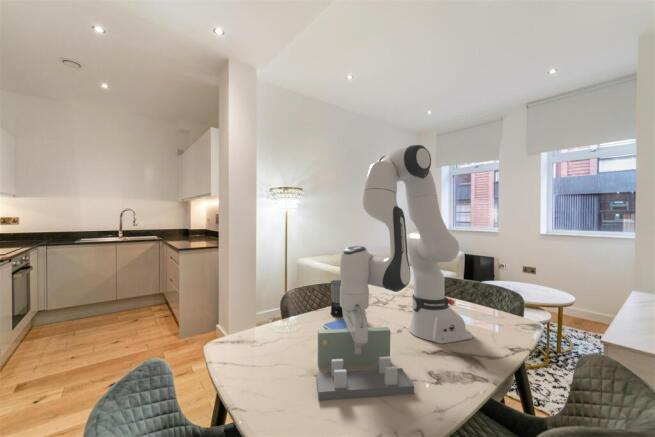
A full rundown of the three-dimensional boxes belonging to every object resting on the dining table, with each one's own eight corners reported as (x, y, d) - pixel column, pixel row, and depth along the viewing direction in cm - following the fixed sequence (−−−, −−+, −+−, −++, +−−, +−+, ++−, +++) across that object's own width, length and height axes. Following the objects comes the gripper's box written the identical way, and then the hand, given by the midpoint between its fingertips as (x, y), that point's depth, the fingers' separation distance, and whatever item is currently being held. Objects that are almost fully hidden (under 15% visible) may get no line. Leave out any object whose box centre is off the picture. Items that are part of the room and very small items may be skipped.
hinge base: (401, 375, 75) (401, 353, 75) (414, 393, 67) (414, 370, 67) (316, 380, 73) (316, 358, 73) (318, 400, 65) (318, 375, 65)
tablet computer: (378, 336, 101) (378, 332, 101) (354, 345, 94) (354, 342, 94) (345, 320, 117) (345, 317, 117) (321, 327, 109) (321, 324, 109)
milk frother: (328, 316, 120) (328, 283, 119) (335, 305, 135) (335, 275, 135) (360, 319, 116) (360, 285, 116) (363, 307, 132) (363, 277, 132)
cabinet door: (387, 358, 84) (387, 327, 84) (391, 365, 81) (392, 332, 80) (317, 362, 82) (317, 329, 82) (318, 369, 78) (318, 335, 78)
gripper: (373, 311, 72) (373, 363, 72) (357, 290, 92) (356, 331, 92) (350, 312, 71) (350, 364, 71) (339, 291, 92) (338, 331, 92)
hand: (353, 345), depth 82 cm, fingers open, 8 cm apart
